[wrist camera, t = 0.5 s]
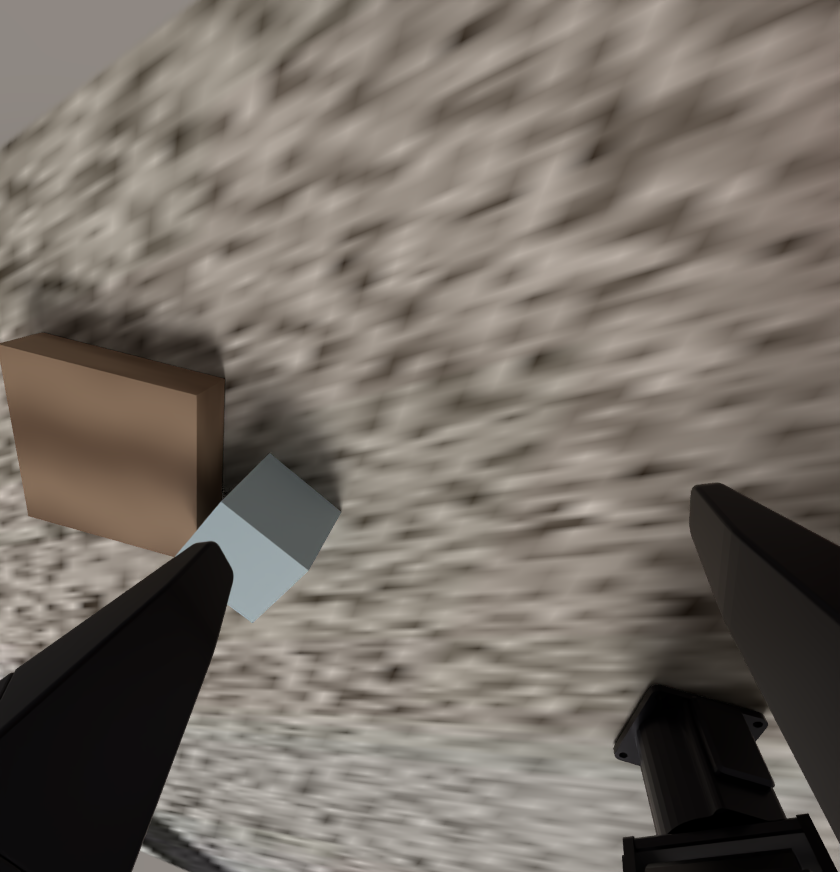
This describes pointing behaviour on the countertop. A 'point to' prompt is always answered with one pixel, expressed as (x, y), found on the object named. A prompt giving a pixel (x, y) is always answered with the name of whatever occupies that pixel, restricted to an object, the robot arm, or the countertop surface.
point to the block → (267, 534)
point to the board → (114, 440)
